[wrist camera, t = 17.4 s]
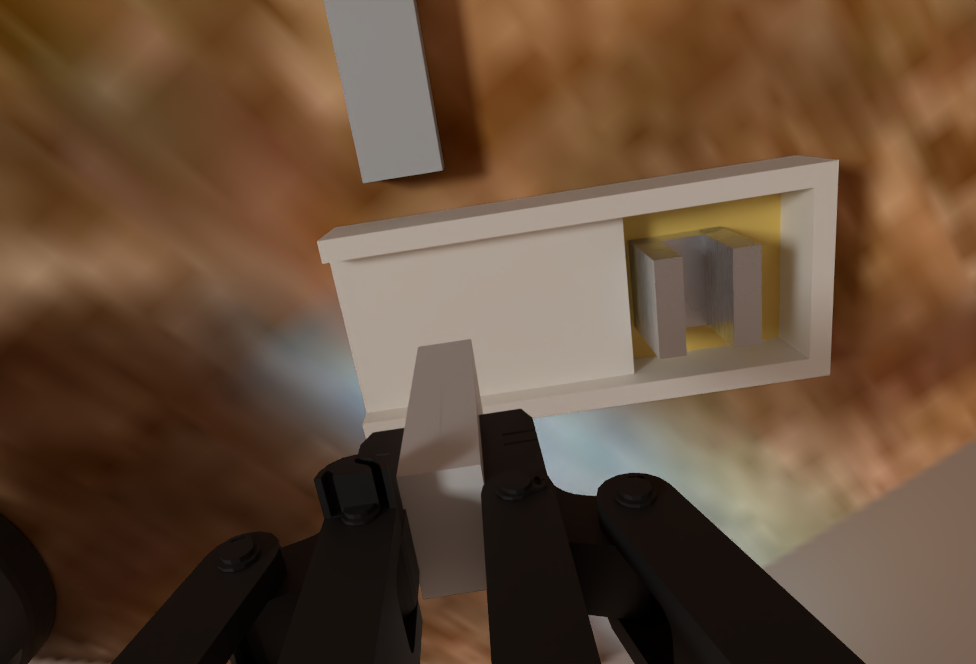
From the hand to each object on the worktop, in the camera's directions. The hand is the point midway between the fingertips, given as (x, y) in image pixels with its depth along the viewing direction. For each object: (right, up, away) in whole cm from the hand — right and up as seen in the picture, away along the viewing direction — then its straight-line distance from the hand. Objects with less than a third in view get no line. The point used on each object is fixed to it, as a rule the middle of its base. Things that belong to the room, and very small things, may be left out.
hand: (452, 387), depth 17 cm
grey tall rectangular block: (-3, +13, +10) cm, 17 cm away
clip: (+10, +4, +13) cm, 17 cm away
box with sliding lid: (+5, +4, +14) cm, 15 cm away
